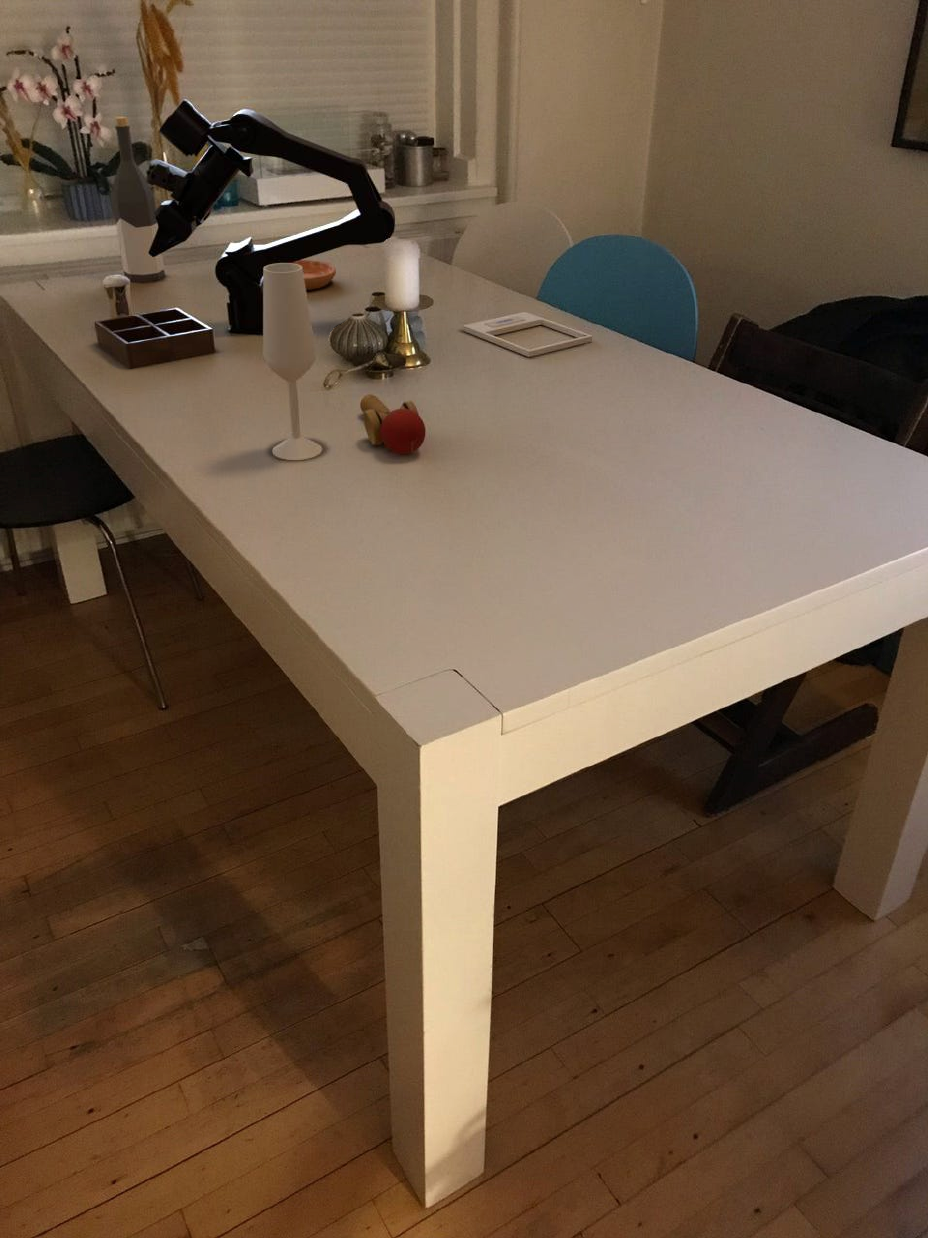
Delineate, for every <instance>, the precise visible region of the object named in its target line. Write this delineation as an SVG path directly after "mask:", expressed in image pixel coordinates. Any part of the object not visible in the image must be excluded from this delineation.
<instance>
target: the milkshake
mask: <svg viewBox="0 0 928 1238" xmlns="http://www.w3.org/2000/svg"><path fill="white" fill-rule="evenodd" d="M132 271H133V270H132ZM131 275H132V273H131ZM130 279H131V277H130ZM102 285H103V290H104V292H105V293H104V294H105V297H106V300H107V303H108V308H109V312H110V315H111V319H112V318H118V317H124V316H131V315H133V308H132V295H131V293H132V292H131V282H130V280H129V279H128V278H127V277H126V276H124V275H122V274H109V275H107V276H105V277H104V278H103V281H102Z"/></svg>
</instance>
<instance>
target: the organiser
mask: <svg viewBox="0 0 928 1238" xmlns="http://www.w3.org/2000/svg"><path fill="white" fill-rule="evenodd" d="M94 328H95V334H96V339H97V344H98V346H99V347H101V349H103V350H105V351H106V352H107V353H108V354H110V355H111V356H113V357H114V358H115V359H117V360H118V361H119V362H121V363H122V364H123V365H125V366H126V367H127V368H128V369H135V368H141V367H145V366H150V365H157V364H161V363H167V362H172V361H177V360H182V359H187V358H193V357H198V356H199V357H200V356H203V355H208V354H214V353H216V348H215V347H216V345H215V339H214V330H213V328H211V327H210V326H208V325H207V324H205V323H203V322H202V321H200V320H198V319H197V318H195V317H194V316H192V315H190V314H188V313H187V312H185V311H184V310H182V309H180V308H178V307H173V308H167V309H161V310H156V311H149V312H144V313H137V314H132V315H131V316H124V317H118V318H112V317H111V318H107V319H99V320H94Z"/></svg>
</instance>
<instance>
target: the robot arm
mask: <svg viewBox="0 0 928 1238" xmlns="http://www.w3.org/2000/svg"><path fill="white" fill-rule="evenodd" d="M158 133H159V134H160V135H161V136H162V137H163V138H164V139H166V141H167V142H169V143H170V144H171V145H172V146H173V147H175V148H176V149H177V150H178V151H179V152H180V153H182V154H183V155H184V156H185V157H186V158H188V157H189V156H190V157H192V156H195V158H198V157H199V155H200V154H201V153H202V151H203V150H204V149H205V147H206V146H207V145H208V143H209V144H210V146H209V147H208V149H207V150H206V152H204V154H203V156H202V157H201V158H200V159H199V161H198V162H197V164H196V165H195V166H194V167H192V168H191V169H190V171H185V170H183V169H182V168H179V167H177V166H174V165H172V164H170V163H167V162H165V161H163V160H160V159H156V158H155V159H153V160H152V161H150V162H149V166H148V169H147V170H146V177H145V178H146V182H147V183H148V184H149V186H156V187H158V188H161V189H163V190H166V191H168V192H170V193H171V194H170V195H169V197H171V199H172V200H164V201H163V202H162V203H161V204H160V205H159V206H158V207H157V208H156V212H155V213H154V214H155V219H156V220H157V224H158V230H157V232H156V235H155V237H154V240H153V242H152V245H151V247H150V250H149V252H148V253H149V255H151V256H152V257H155V256H157V255H159V254H161V253H162V254H163V253H165V252H166V251H169V250H170V249H172V248H174V247H176V246H179V245H180V244H182V243H185V242H186V241H187V240H189V238H191V236H192V235H193V234H194V232H195V231H196V230H197V228H198V227H199V226H201V225H203V223H205V221H206V220H208V218H209V217H210V216H211V214H212V213H213V212H214V210H215V209H214V206H215V204H216V203H217V201H218V200H219V199H220V198H221V197H222V196H223V194H224V193H225V191H226V189H227V188H228V187H229V186H230V184H231V183H232V182H233V181H234V179H235V178H236V176H237V175H238V174H239V172H241V173H242V174H244V176H245V177H247V178H251V176H252V175H253V174H254V167H253V157H252V156H244V155H242V154H241V153H244V154H249V155H255V156H260V157H271V158H277V159H282V160H283V161H284V160H285V161H287V162H289V163H292V164H295V165H297V166H299V167H303V168H305V169H308V170H311V171H313V172H316V173H318V174H321V175H324V176H327V177H330V178H332V179H334V180H337V181H339V182H342V183H344V184H346V185H347V187H348V189H349V192H350V194H351V196H352V199H353V201H354V203H355V205H356V208H357V209H355V210H354V211H352V212H350V213H349V214H348V215H346V216H344V217H343V218H341V219H340V220H337V221H334V222H333V221H332V222H331V223H328V224H324V225H322V226H319V227H315V228H312V229H308V230H307V231H303V232H300V233H297V234H294V235H291V236H287V237H285V238H282V239H279V240H275V241H273V242H269V243H267V244H254V240H253V237H252V236H250V237H248V238H246V239H244V240H242V241H240V242H230V243H229V245H228V247H227V248H225V250H224V251H223V252H222V254H221V255H220V256H219V259H218V260H217V262H216V265H215V266H214V267H215V268H214V273H215V277H216V279H217V282H219V284H220V285H221V286H222V287H225V289H226V290H227V292H228V301H227V302H226V309H227V310H226V311H227V318H228V325H229V326H230V327H229V328H228V332H230V333H241V334H242V333H243V334H244V333H245V334H259V335H263V268H264V267H265V266H267V265H271V264H277V263H293V262H296V261H299V260H306V259H308V258H311V257H314V256H317V255H321V254H324V253H326V252H327V253H328V252H330V251H332V250H333V251H334V250H337V249H339V248H342V247H344V246H345V247H346V246H367V245H368V246H369V245H374V244H382V243H385V242H386V241H385V240H386V239H388V238H390V239H391V238H392V236H393V235H394V232H395V228H396V215H395V210H394V209H393V207H392V206H391V205H390V204H389V203H388V202H386V201H384V200H383V198H382V196H381V194H380V192H379V190H378V188H377V187H376V185H375V183H374V181H373V179H372V177H371V175H370V173H369V171H368V167H367V165H366V163H365V162H364V160H362V159H360V158H357V157H351V156H349V155H346V154H343V153H340V152H338V151H336V150H333V149H330V148H328V147H325V146H322V145H320V144H317V143H315V142H312V141H310V140H307V139H305V138H302V137H299V136H296V135H294V134H292V133H289V132H288V131H286V130H284V129H283V128H281V127H280V126H279V125H277V124H276V123H275V122H273V121H271V120H270V119H268V118H267V117H265V116H263V115H262V114H260V113H258V112H256V111H255V110H252V109H249V108H246V109H245V108H243V109H241V110H239V111H237V112H236V113H235V114H234V115H232V116H231V117H230V119H224V120H217V121H216V122H213V123H212V122H210V120H208V119H207V118H206V117H205V116H204V115H202V113H200V112H199V111H198V110H197V109H196V108H195V106H194V105H193V104H192V103H191V102H190V101H189V100H188V99H187V98H186V99H183V100H182V101H181V102H180V103H179V105H178V106H177V107H176V108H175V110H174V111H173V112H172V113H171V114H170V115H168V117H167V118H166V119H165V121H164V122H163V124H162V125H161V127H160V128H159V130H158ZM224 144H228V145H230V146H228V147H227V146H226V145H224ZM388 240H389V239H388ZM384 241H385V242H384Z"/></svg>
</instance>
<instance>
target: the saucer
mask: <svg viewBox="0 0 928 1238" xmlns="http://www.w3.org/2000/svg"><path fill="white" fill-rule="evenodd" d="M292 264H298V265H300V266H302V269H303V275H304V281H305V287H306V291H310V290H311V291H312V290H316V289H320V288H323V287H325V286H327V285H328V284H329V283H330V282H331V281H332V280H333V279H334V277H335V276H336V273H337V268H336V267H335V265H333V264H332V263H329V262H326V261H321V260H310V259H302V260H299V261H296V262H293V263H292Z"/></svg>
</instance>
